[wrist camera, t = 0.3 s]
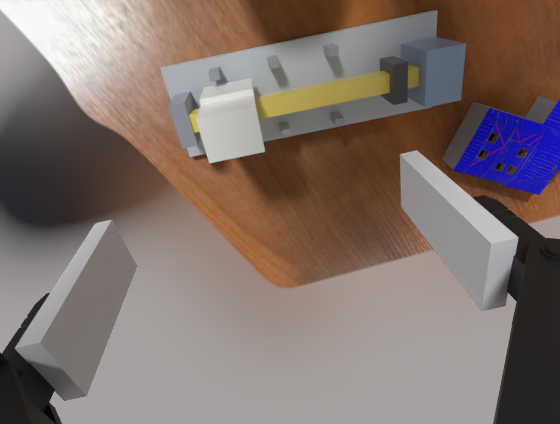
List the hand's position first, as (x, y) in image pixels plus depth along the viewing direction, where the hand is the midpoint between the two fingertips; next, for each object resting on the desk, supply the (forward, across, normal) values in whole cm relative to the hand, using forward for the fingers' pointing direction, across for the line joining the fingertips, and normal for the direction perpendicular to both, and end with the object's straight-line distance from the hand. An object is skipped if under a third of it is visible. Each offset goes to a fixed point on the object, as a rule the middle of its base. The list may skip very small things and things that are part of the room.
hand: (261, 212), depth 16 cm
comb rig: (+27, +6, -1) cm, 27 cm away
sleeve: (+25, -2, -1) cm, 25 cm away
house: (+27, +31, -13) cm, 43 cm away
